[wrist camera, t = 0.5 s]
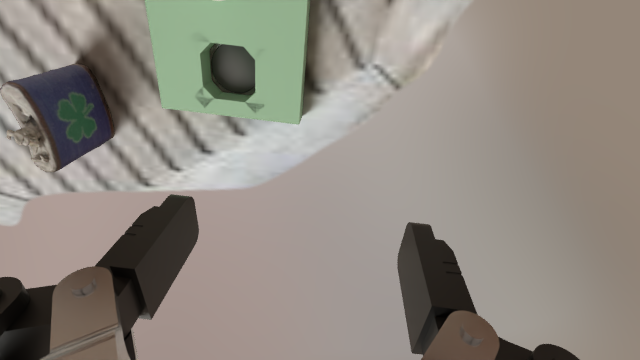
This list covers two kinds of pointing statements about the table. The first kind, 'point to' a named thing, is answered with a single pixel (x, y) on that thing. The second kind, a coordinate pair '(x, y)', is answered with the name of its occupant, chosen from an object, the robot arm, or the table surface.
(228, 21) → the board
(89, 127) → the flask
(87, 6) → the table surface
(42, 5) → the table surface
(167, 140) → the table surface
